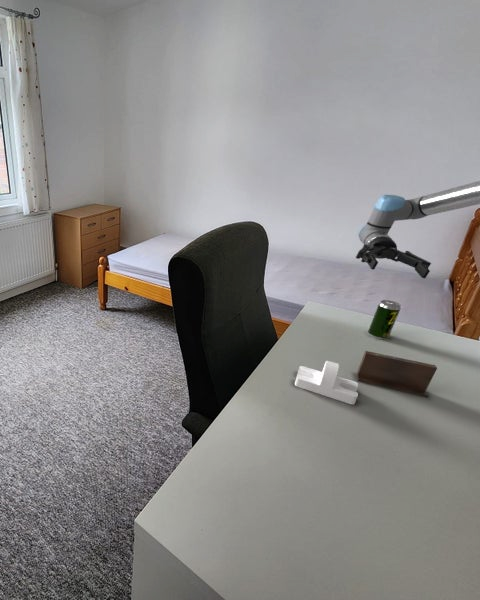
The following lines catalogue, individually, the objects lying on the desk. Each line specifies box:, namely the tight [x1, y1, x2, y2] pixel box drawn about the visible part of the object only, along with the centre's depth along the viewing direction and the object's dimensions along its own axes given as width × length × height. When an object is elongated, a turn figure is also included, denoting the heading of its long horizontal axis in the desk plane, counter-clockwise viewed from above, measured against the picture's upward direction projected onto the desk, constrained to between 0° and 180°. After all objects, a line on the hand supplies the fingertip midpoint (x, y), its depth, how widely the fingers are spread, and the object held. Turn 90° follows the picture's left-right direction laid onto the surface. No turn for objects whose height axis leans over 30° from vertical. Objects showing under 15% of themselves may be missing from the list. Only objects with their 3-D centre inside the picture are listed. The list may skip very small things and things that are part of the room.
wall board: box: [355, 350, 438, 398], centre depth 88 cm, size 14×3×8 cm, turn 60°
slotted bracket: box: [294, 360, 359, 405], centre depth 88 cm, size 13×7×8 cm, turn 53°
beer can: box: [367, 299, 402, 340], centre depth 110 cm, size 5×5×12 cm
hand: (400, 270), depth 109 cm, fingers open, 13 cm apart
